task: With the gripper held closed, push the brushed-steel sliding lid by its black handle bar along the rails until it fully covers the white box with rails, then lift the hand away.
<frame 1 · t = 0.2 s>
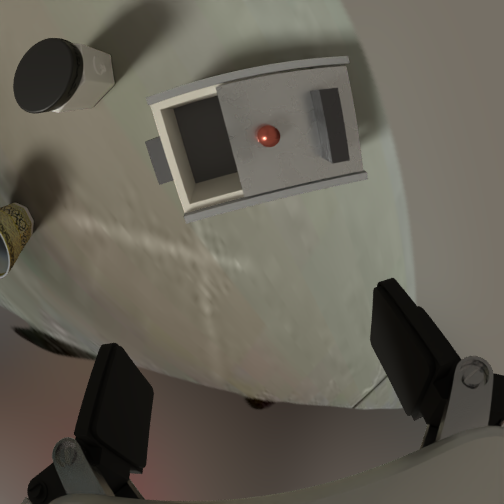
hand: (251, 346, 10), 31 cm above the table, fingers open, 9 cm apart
white box with rails: (227, 133, 35), on the table
ceramic cup: (14, 217, 36), on the table
lid: (298, 129, 25), point 11 cm above the table, slide at 6.5 cm
jar: (88, 79, 29), on the table
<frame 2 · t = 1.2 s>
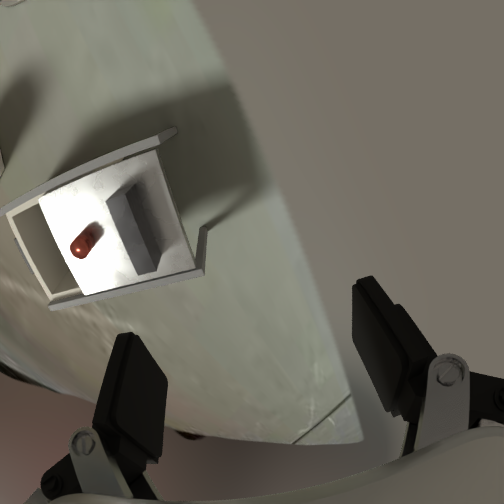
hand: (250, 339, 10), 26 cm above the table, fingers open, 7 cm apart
white box with rails: (94, 212, 33), on the table
lid: (107, 236, 23), point 11 cm above the table, slide at 6.5 cm
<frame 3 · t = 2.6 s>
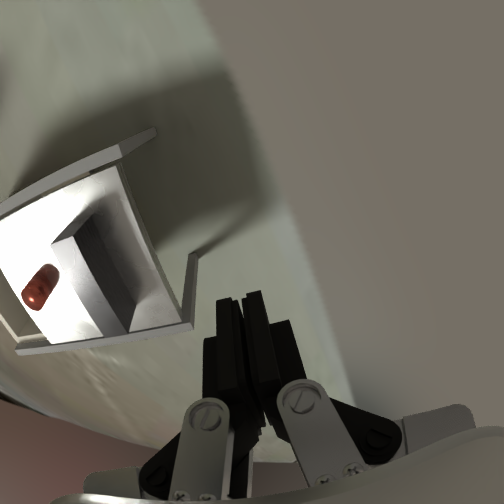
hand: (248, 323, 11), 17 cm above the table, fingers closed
white box with rails: (62, 235, 26), on the table
lid: (64, 284, 16), point 11 cm above the table, slide at 6.5 cm
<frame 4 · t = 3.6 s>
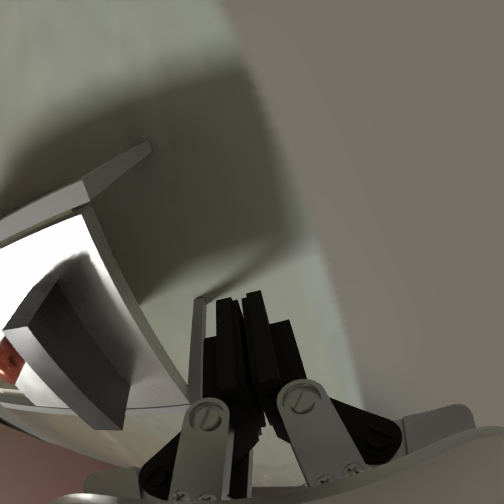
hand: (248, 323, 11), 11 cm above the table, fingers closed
white box with rails: (43, 272, 20), on the table
lid: (36, 360, 11), point 11 cm above the table, slide at 6.5 cm
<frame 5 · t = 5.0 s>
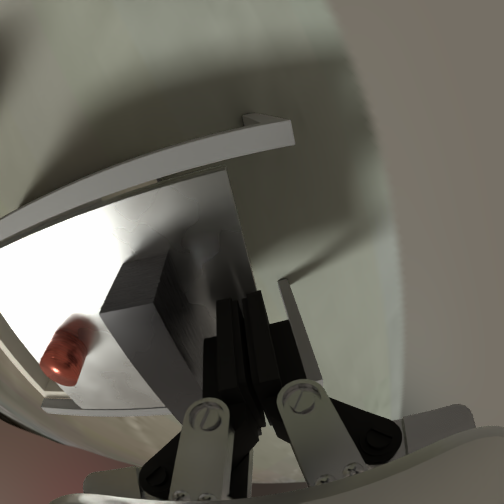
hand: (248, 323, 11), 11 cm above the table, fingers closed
white box with rails: (101, 253, 20), on the table
lid: (112, 354, 11), point 11 cm above the table, slide at 4.7 cm, touching gripper
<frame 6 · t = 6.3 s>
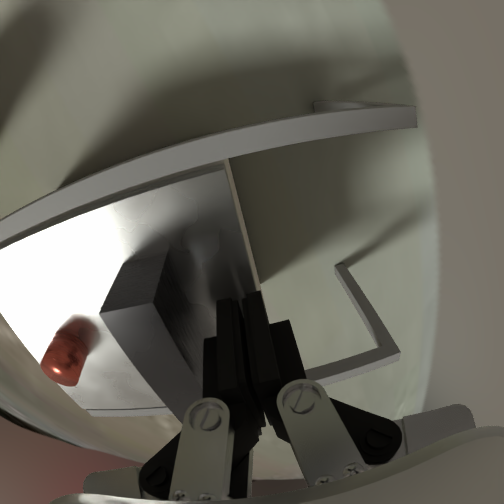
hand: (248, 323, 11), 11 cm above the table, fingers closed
white box with rails: (155, 238, 20), on the table
lid: (113, 354, 11), point 11 cm above the table, slide at 0.0 cm, touching gripper
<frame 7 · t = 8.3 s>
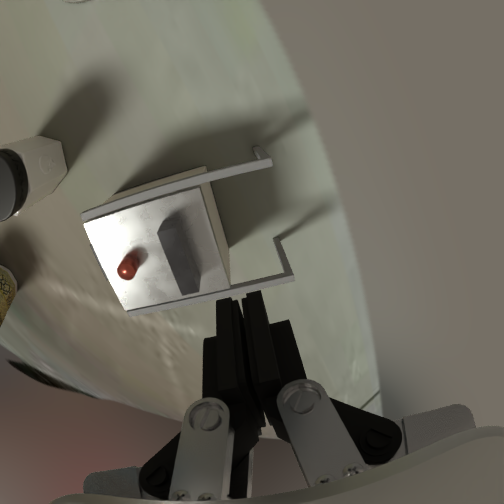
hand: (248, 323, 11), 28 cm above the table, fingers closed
white box with rails: (171, 221, 38), on the table
ceramic cup: (1, 276, 39), on the table
lid: (153, 261, 28), point 11 cm above the table, slide at 0.0 cm
jar: (45, 164, 32), on the table
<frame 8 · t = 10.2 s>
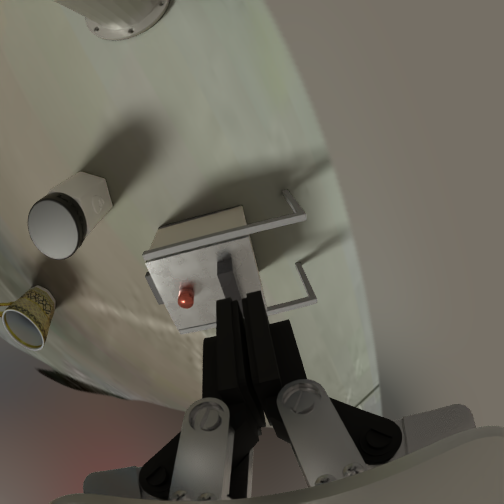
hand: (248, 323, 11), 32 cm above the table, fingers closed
white box with rails: (210, 250, 45), on the table
ceramic cup: (37, 295, 46), on the table
lid: (208, 292, 36), point 11 cm above the table, slide at 0.0 cm
jar: (88, 197, 39), on the table
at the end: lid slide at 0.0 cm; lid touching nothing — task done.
